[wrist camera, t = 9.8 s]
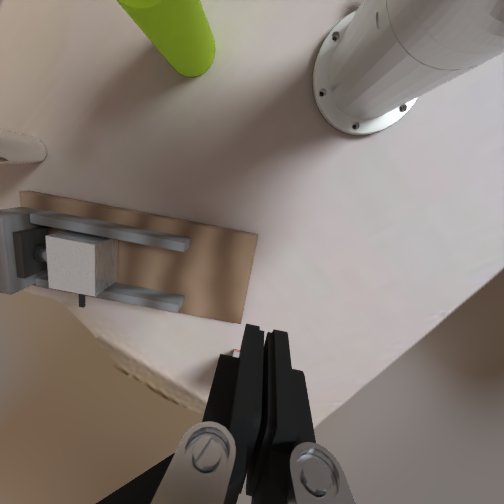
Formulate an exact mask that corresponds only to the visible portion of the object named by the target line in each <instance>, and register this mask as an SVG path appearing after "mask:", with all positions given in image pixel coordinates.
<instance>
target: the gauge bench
mask: <svg viewBox="0 0 504 504" xmlns="http://www.w3.org/2000/svg"><path fill="white" fill-rule="evenodd" d="M19 192H20V203H21V207H18V208H10V209H2V210H0V293H6V294H13V293H15V292H18V291H20V290H22V289H24V288H26V287H28V286H31V285H35V286H38V287H43V288H49V282H48V267H47V263H45V262H40V261H36V260H35V259H34V258H33V250H34V248H35V247H36V246H37V245H38V244H46V237H45V236H46V235H50V234H53V233H57V232H61V231H64V230H70V231H76V232H81V233H86V234H91V235H97V236H102V237H107V238H113V239H118V260H117V281H116V282H115V283H114V284H112V285H111V286H109V287H108V288H106V289H105V290H104V291H102V292H101V293H99V294H98V295H97V296H95V297H97V298H102V299H107V300H113V301H118V302H123V303H129V304H134V305H139V306H145V307H150V308H155V309H161V310H166V311H171V312H177V313H178V312H179V313H184V314H190V315H195V316H200V317H206V318H211V319H216V320H222V321H227V322H232V323H238V324H241V320H242V315H243V310H244V305H245V300H246V295H247V289H248V284H249V279H250V274H251V269H252V264H253V258H254V253H255V248H256V243H257V238H258V234H255V233H250V232H244V231H239V230H234V229H229V228H223V227H218V226H213V225H207V224H202V223H197V222H192V221H186V220H181V219H176V218H170V217H165V216H160V215H155V214H149V213H144V212H139V211H133V210H128V209H123V208H118V207H112V206H107V205H102V204H97V203H91V202H86V201H81V200H75V199H70V198H65V197H60V196H54V195H49V194H44V193H38V192H33V191H19ZM49 289H52V288H49ZM54 290H57V289H54ZM59 291H62V290H59ZM65 292H68V291H65ZM70 293H73V292H70ZM75 294H78V293H75ZM86 296H89V295H86ZM91 297H94V296H91Z"/></svg>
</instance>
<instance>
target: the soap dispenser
mask: <svg viewBox="0 0 504 504" xmlns="http://www.w3.org/2000/svg"><path fill="white" fill-rule="evenodd" d="M117 1H118V3H119V4H120V5H121V6H122V7H123V8H124V10H125V11H126V12H127V13H128V14H129V16H130V17H131V18H132V19H133V20H134V21H135V23H136V24H137V25H138V26H139V27H140V29H141V30H142V31H143V32H144V33H145V34H146V36H147V37H148V38H149V39H150V40H151V42H152V43H153V44H154V45H155V46H156V47H157V49H158V50H159V51H160V52H161V53H162V55H163V56H164V57H165V58H166V59H167V60H168V62H169V63H170V64H171V65H172V66H173V68H174V69H175V70H176V71H177V72H179V73H180V74H182V75H184V76H187V77H196V76H200V75H202V74H203V73H205V72H206V71H207V70H208V69H209V68H210V66H211V64H212V62H213V60H214V56H215V41H214V38H213V35H212V32H211V29H210V27H209V24H208V21H207V19H206V16H205V13H204V11H203V8H202V5H201V3H200V0H117Z"/></svg>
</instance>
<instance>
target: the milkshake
mask: <svg viewBox="0 0 504 504" xmlns="http://www.w3.org/2000/svg"><path fill="white" fill-rule="evenodd" d="M46 155H47V153H46V147H45V145H44V144H43V143H42V142H41V140H40V139H37V138H35V137H32V136H28V135H24V134H20V133H16V132H12V131H8V130H4V129H0V164H14V163H38V162H41V161H44V159H45V157H46Z"/></svg>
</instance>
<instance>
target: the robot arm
mask: <svg viewBox="0 0 504 504" xmlns="http://www.w3.org/2000/svg"><path fill="white" fill-rule="evenodd" d="M332 38H335V39H336V41H334V40H332ZM503 52H504V0H363V1H362V3H361V4H360V6H359V8H358V10H356V11H354V12H351V13H350V14H349V15H347V16H346V17H344V18H343V19H341V20H340V21H339V22H338V23H337V25H336V26H335V27H334V28H333V29H332V30H331V31H330V33H329V34H328V36H327V37H326V38H325V40H324V42H323V44H322V46H321V48H320V50H319V53H318V55H317V58H316V61H315V66H314V70H313V92H314V97H315V100H316V104H317V106H318V108H319V110H320V112H321V114H322V115H323V116H324V118H325V119H326V120H327V121H328V122H329V123H330V124H331V125H332V126H334V127H335V128H336V129H338V130H340V131H342V132H345V133H349V134H353V135H367V134H373V133H376V132H379V131H382V130H384V129H386V128H388V127H390V126H392V125H393V124H395V123H396V122H397V121H399V120H400V119H401V118H402V117H403V116H404V115H406V114H407V113H408V111H409V110H410V109H411V107H412V106H413V105H414V103H415V102H416V101H417V99H418V97H419V96H421V95H423V94H425V93H427V92H429V91H431V90H433V89H435V88H437V87H438V86H440V85H442V84H444V83H446V82H448V81H450V80H452V79H454V78H456V77H458V76H460V75H462V74H464V73H465V72H467V71H469V70H471V69H473V68H475V67H477V66H479V65H481V64H483V63H485V62H487V61H489V60H491V59H492V58H494V57H496V56H498V55H500V54H501V53H503ZM319 93H323V96H322V97H321V96H320V95H319ZM399 108H401V111H399ZM352 125H354V126H355V129H353V128H352ZM259 328H260V327H259V326H255V325H250V324H246V327H245V331H244V336H243V340H242V345H241V349H240V354H239V358H237V357H233V356H228V355H223V354H220V357H219V361H218V364H217V368H216V372H215V376H214V379H213V383H212V387H211V391H210V394H209V398H208V402H207V406H206V409H205V413H204V417H203V421H202V422H201V423H198V424H196V425H194V426H193V427H191V428H190V429H189V430H188V431H187V432H186V434H185V435H184V437H183V438H182V440H181V442H180V444H179V446H178V448H177V450H176V452H175V453H174V454H172V455H171V456H169V457H167V458H166V459H164V460H163V461H161V462H160V463H158V464H157V465H155V466H153V467H152V468H150V469H149V470H147V471H146V472H144V473H143V474H141V475H140V476H138V477H136V478H135V479H134V480H132V481H130V482H129V483H127V484H126V485H124V486H123V487H121V488H120V489H118V490H116V491H115V492H113V493H112V494H110V495H109V496H107V497H106V498H104V499H103V500H101V501H99V502H98V503H96V504H236V502H237V499H238V495H239V493H241V491H242V488H243V484H244V480H245V477H246V474H247V481H246V495H249V496H252V502H251V504H355V502H354V499H353V496H352V493H351V491H350V488H349V485H348V482H347V480H346V477H345V474H344V472H343V470H342V468H341V466H340V464H339V462H338V461H337V460H336V458H335V457H334V456H333V454H332V453H330V452H329V451H328V450H327V449H326V448H324V447H323V446H321V445H319V444H317V443H316V441H315V435H314V429H313V423H312V417H311V411H310V406H309V400H308V394H307V388H306V382H305V376H304V373H303V371H300V370H295V369H292V366H291V358H290V349H289V340H288V333H287V332H284V331H279V330H273V332H272V333H270V332H268V333H267V337H266V340H265V344H264V331H261V330H259Z"/></svg>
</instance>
